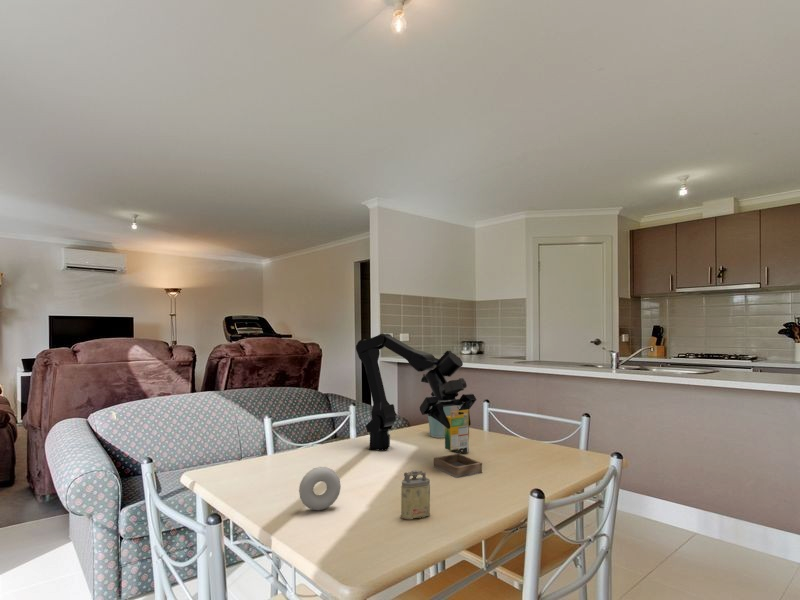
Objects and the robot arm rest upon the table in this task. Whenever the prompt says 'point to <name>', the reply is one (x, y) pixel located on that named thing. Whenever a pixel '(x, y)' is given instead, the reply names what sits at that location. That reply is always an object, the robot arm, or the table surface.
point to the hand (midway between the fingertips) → (459, 426)
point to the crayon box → (457, 430)
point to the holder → (457, 465)
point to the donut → (310, 481)
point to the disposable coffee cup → (438, 425)
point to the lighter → (415, 495)
